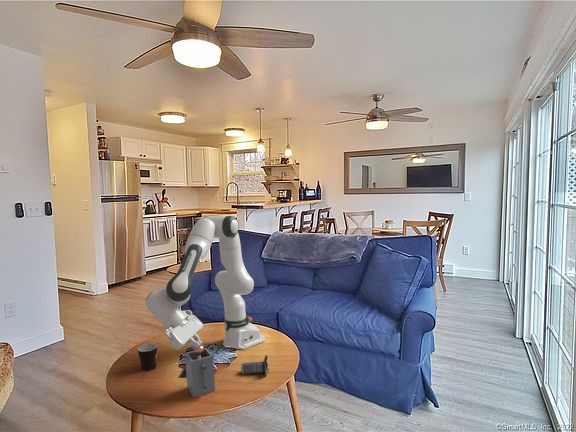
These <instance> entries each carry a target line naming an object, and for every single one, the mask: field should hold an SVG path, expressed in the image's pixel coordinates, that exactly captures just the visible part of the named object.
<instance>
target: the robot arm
mask: <svg viewBox="0 0 576 432" xmlns="http://www.w3.org/2000/svg"><path fill="white" fill-rule="evenodd" d="M239 230H240V223H239V220H238V219H237V218H236V217H235V216H233V215H212V216H203V217H201V218H200V219H198V220H197V221H196V222H195V224H194V226H193V227H192V229H191V231H190V232H189V235H188V237H187V240H186V243H185V248H184V256H183V259H182V261H181V264H180V265H179V268H178V270H177V272H176V274H174V275H173V276H172V277H171V278H170V280H169V281H168V282H167V284H166V287H162V288H154V289H153V290H151V292H150V293H149V294H148V295H147V297H146V299H145V301H144V302H145V303H144V304H145V307H146V308H147V310H148V311H149V312H150V314H151V315H153V317H155V319H157V320H159V321H160V322H161V324H162V326H164V328H166V329H165V330H164V334H165V335H164V336H166V338H167V341H168V342H169V343H170V344H171V346H172V347H173V348H174V349H175V350H177V351H179V350H180V349H181V348H182V347H184V346H185V345H186V344H187V343H188V344H189V345H191V346H195V347H196V348H198V347H199V346H200V345H203V341H202V340H201V339H200V337H199V335H198V333H199V332H200V331H201V330H202V329H203V328H204V325H203V322H202V321H201V320H200V319H199V318H198V317H197V316H196V315H195V314H193V312H192V311H191V310H190V309H188V310H181V309H180V307H182V306H183V305H185V304H187V303H188V301H189V300H190V297H191V294H192V291H193V282H192V281H193V277H194V274H195V271H196V268H197V266H198V263H199V262H200V261H201V260H202V259H204V258H205V257H206V256H207V254H208V253H209V251H210V249H211V247H212V243H213V240H214V238H215V239H216V238H217V239H218V243H219V245H218V246H219V256H220V263H221V264H222V266H223V267H224V268H225V270H220V271H219V272H217V273H216V274H215V277H214V284H215V286H216V287H217V289H218V290H219V292H220V295H221V298H222V302H223V305H224V307H223V308H224V318H223V320H224V322H223V326H224V327H223V328H224V338H223V342H222V345H224V346H230V347H233V348H235V349H234V350H241V351H242V350H245V349H249V348H251V347H253V346H255V345H258V344H260V343H264V342H265V341H266V340H265V339H266V338H265V336H264V335H263V334H261V331H260V329H259V327H257V326H256V325H254V324H253V323H251V322H253V317H250V316H248V315H247V314H246V302H245V300H244V299H243V297H242V296H244V295H249V294H251V293H252V292H253V290H254V286H255V282H254V279H253V277H251V276H250V274H249V272H248V271H247V269H246V267H245V264H244V260H243V255H242V244H241V239H240V235H239ZM224 346H223V347H224Z"/></svg>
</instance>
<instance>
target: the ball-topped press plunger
mask: <svg viewBox="0 0 576 432" xmlns="http://www.w3.org/2000/svg"><path fill="white" fill-rule="evenodd" d="M193 346H194V345H193ZM193 348H194V350H193V351H195V355H198V359H200V358H201V355H202V354H203V353H204V351H203V348H204V344H201V345H200V346H199V347H198V348H196V347H195V346H194V347H193Z"/></svg>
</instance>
